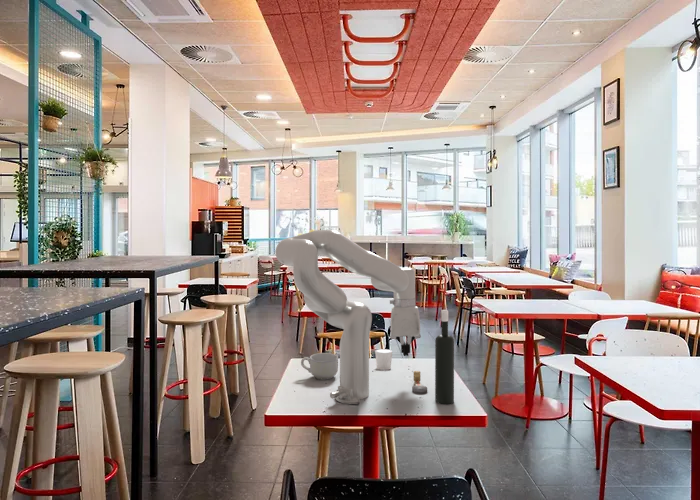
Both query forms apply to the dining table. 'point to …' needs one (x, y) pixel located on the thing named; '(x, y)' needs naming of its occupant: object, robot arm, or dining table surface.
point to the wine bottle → (444, 364)
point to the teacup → (322, 365)
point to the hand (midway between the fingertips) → (405, 354)
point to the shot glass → (383, 359)
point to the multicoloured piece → (418, 384)
